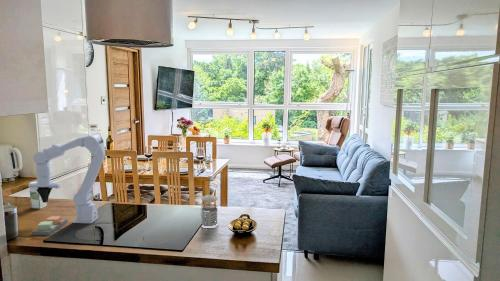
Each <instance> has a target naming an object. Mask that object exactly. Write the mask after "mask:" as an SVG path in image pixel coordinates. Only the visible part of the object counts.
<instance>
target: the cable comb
mask: <svg viewBox="0 0 500 281" xmlns="http://www.w3.org/2000/svg"><path fill="white" fill-rule="evenodd" d="M67 223H68V219H65V218H63V219H62V218H61V221H59V224H58V225H53V226H52V227H50V230H49V231H38V230H32V231H31V235H32V236H51V235H52V234H53V233H55V232H56V231H57V230H59V229H61V228H62V227H64V226H65V225H66V224H67Z"/></svg>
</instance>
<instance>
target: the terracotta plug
mask: <svg viewBox="0 0 500 281" xmlns="http://www.w3.org/2000/svg"><path fill="white" fill-rule="evenodd" d="M61 219H62V216H57V215H56V216H53V215H52V216H49V217H48V218H46V220H45V222H46V221H53V225H58V224H59V221H61Z"/></svg>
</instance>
